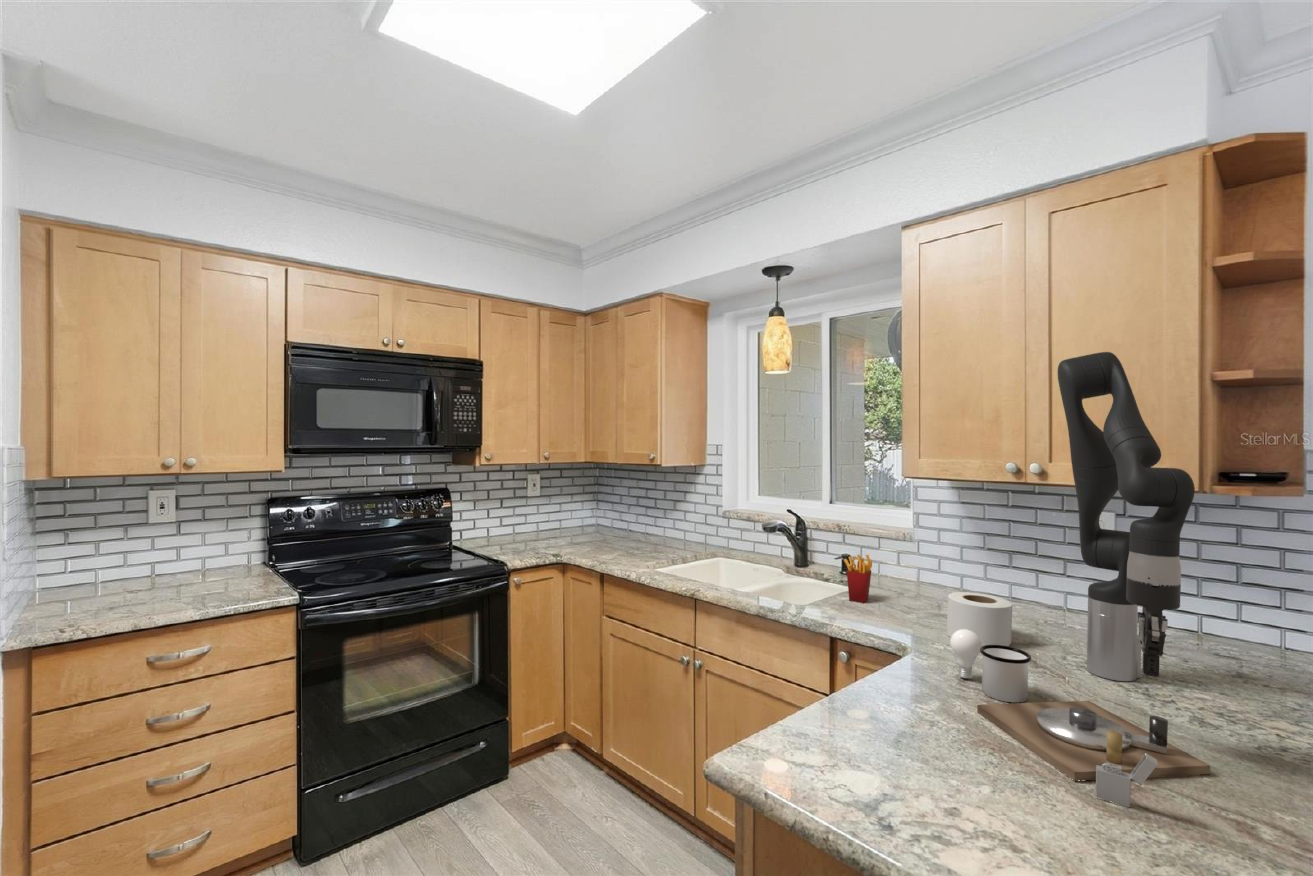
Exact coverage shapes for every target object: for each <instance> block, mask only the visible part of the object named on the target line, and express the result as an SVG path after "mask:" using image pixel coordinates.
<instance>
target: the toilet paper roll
mask: <svg viewBox="0 0 1313 876" xmlns="http://www.w3.org/2000/svg"><path fill="white" fill-rule="evenodd" d="M946 619H947V620H946V621H947V622H946V634H947V636H948V637H949V638H951V636H952V634H953V633H954V632H955V631H957V630H960V629H968V630H971V631H973V632H974V633H976V634H977V635H978V637H979V638H980V640H981V643H982V646H984V645H1003V646H1009V645H1010V644H1011V645H1012V628H1013V627H1012V626H1013V603H1012V602H1011V601H1010V600H1008V599H1006V598H1004V597H1003V598H1002V597H999V596H996V595H991V594H986V593H985V594H984V593H978V592H972V591H971V592H970V591H969V592H967V591H956V592H955V591H954V592H951V593H949V594H947V617H946ZM1011 645H1010V646H1011ZM1010 646H1009V647H1010Z"/></svg>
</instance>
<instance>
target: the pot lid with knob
mask: <svg viewBox="0 0 1313 876" xmlns="http://www.w3.org/2000/svg"><path fill="white" fill-rule="evenodd" d="M1148 722H1149V725H1148V732H1149V737H1146V736H1141V735H1137V734H1133V733H1130V732H1129V731H1128V730H1127V729H1125V728H1124V727H1122V726H1121V725H1119V724H1117V723H1115V722H1113V721H1111V720H1109V719H1106V718H1104V717H1101V716H1098V715H1097V714H1096V713H1094V712H1093V711H1091V710H1088V709H1085V708H1080V707H1071V708H1070V709H1066V708H1047V709H1043V710H1040V711H1039V712H1038V713H1037V724H1038V725H1039V727H1040V728H1041V729H1043V730H1044V731H1045V732H1047V733H1048V734H1050V735H1052V736H1054V737H1056V738H1058V739H1060V740H1063V741H1065V742H1068V743H1071V744H1074V745H1077V746H1081V747H1085V748H1089V749H1094V750H1101V751H1107V731H1115V732H1118V733H1120V734H1122V751H1123V750H1127V749H1129V748H1130V747H1131V746H1135V747H1139V748H1143V749H1148V750H1152V751H1156V752H1160V753H1165V754H1167V743H1168V737H1169V735H1168V734H1169V733H1168V729H1169V721H1168V719H1166V718H1164V717H1161V716H1156V715H1149V721H1148Z"/></svg>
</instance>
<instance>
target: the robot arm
mask: <svg viewBox="0 0 1313 876" xmlns="http://www.w3.org/2000/svg"><path fill="white" fill-rule="evenodd" d="M1057 381H1058V386H1059V391H1060V396H1061V401H1062V407H1063V410H1064V415H1065V419H1066V425H1067V432H1068V439H1069V440H1068V442H1069V451H1070V461H1071V469H1072V476H1073V481H1074V486H1075V492H1076V499H1077V505H1078V506H1077V508H1078V521H1079V525H1078V526H1079V544H1080V545H1079V546H1080V552H1081V553H1080V554H1081V557H1082V560H1083V562H1084V563H1085V565H1087V566H1088V567H1091V568H1095V569H1103V570H1108V571H1114V572H1115V571H1116V572H1118V575H1117V577H1116V578H1114V579H1112V580H1107V581H1098V582H1093V583H1091V584H1089V586H1088V589H1087V623H1086V625H1087V627H1086V628H1087V631H1086V633H1087V634H1086V635H1087V636H1086V639H1087V641H1086V670H1087V671H1088V672H1089V673H1091V674H1092V675H1094V676H1097V677H1099V678H1103V679H1108V680H1112V681H1119V682H1132V681H1136V680H1137V679H1141V667H1142V673H1143V675H1145V676H1147V677H1153V678H1158V677H1159V676H1160V660H1161V657H1162V656H1163V655H1164V647H1165V644H1166V637H1167V634H1166V630H1167V629H1168V628H1169V626H1168V624H1169V623H1168V622H1169V620H1168V618H1166V615H1163V611H1164V610H1169V611H1175V610H1178V609H1180V607H1181V594H1182V593H1181V585H1182V584H1181V583H1182V582H1181V581H1182V568H1181V567H1182V565H1181V559H1180V550H1181V549H1180V547H1181V546H1180V545H1181V533H1182V529H1183V527H1184V524H1185V521H1186V518H1187V515H1188V513H1189V511H1190V508H1191V506H1192V504H1193V500H1194V498H1195V492H1196V491H1195V489H1196V488H1195V482H1194V480H1193V479H1192V477H1191V475H1190V474H1189V473H1188V472H1187V471H1185V470H1183V469H1182V468H1177V467H1175V468H1174V467H1154V466H1155V465H1157V464H1158V463H1160V461H1161V458H1162V452H1161V451H1162V450H1161V448H1160V447H1159V444H1158V443H1157V441H1156V439H1155V438H1154V435H1152V433H1151V432H1150V430H1149V428H1148V427H1147V425H1146V423H1145V421H1144V419H1143V416H1142V415H1141V413H1140V412H1141V411H1140V410H1139V407H1138V405H1137V401H1136V398H1135V394H1134V393H1133V389H1132V387H1131V385H1130V382H1129V379H1128V376H1127V374H1126V372H1125V369H1124V366H1123V365H1122V363H1121V361H1120V359H1119V358H1118V357H1117V355H1116V354H1114V353H1113V352H1111V351H1103V352H1102V351H1101V352H1096V353H1091V354H1090V353H1089V354H1086V355H1080V356H1076V357H1071V358H1066V359H1063V360H1062V361H1060V362H1059V363H1058V366H1057ZM1107 395H1111V396H1112V404H1111V407H1110V409H1109V412H1108V414H1107V416H1106V419H1105V421H1104V424H1103V429H1101V428H1099V426H1097V425H1096V423H1094V421H1093V420H1092V419H1091V418H1090V416H1089V415H1088V414H1087V412H1086V410H1085V408H1084V406H1083V405H1084V404H1083V400H1086V399H1090V398H1096V397H1102V396H1107ZM1117 492H1119V495H1120V496H1121V498H1122V499H1123V500H1124V501H1126V502H1127V503H1128V504H1130V505H1132V506H1137V507H1154V508H1155V507H1158V508H1157V510H1156V512H1155V513H1154V515H1153V516H1150V517H1147V518H1141V519H1136V520H1134V521H1132V522H1131V524H1130V526H1129V531H1124V530H1115V529H1107V528H1101V526H1100V517H1101V515H1102V512H1103V511H1104V509H1105V508H1106V506H1108V504H1109V502H1110V501H1111V500H1112V499H1113V498H1114V496H1115V495H1116V494H1117ZM1139 606H1140V607H1142V611H1141V612H1140V611H1138V610H1139V609H1138V607H1139ZM1141 653H1142V654H1141ZM1141 655H1142V656H1141ZM1141 657H1142V660H1141ZM1141 661H1142V662H1141ZM1141 663H1142V664H1141ZM1141 665H1142V666H1141Z"/></svg>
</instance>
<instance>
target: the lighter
mask: <svg viewBox="0 0 1313 876" xmlns="http://www.w3.org/2000/svg"><path fill="white" fill-rule="evenodd" d="M1157 764H1158V763H1157V760H1156V759H1155V758H1153V757H1152V756H1150V755H1148V754H1147V753H1146V754H1145V755H1144V756H1143V758H1142V759H1141V760H1140V762H1139V763H1138V764H1137V766H1136V767H1135V768H1134V770H1133V771H1132V772H1131V774H1129V773H1125V772H1122V768H1121V766H1119V765H1115V764H1112V763H1108V762H1107V763H1104V764H1102V766H1099V765H1096V781H1095V798H1096V797H1099V798H1102V799H1104V800H1107V801H1112V802H1114V803H1117V804H1116V805H1118V804H1119V805H1118V806H1121V805H1122V806H1121V807H1124V806H1127V807H1126V808H1128V807H1130V808H1131V796H1132V795H1131V791H1132V781H1134V782H1135V783H1137V784H1138V785H1140V786H1142V785H1143V784H1144V783H1145V781H1147V779H1149V778H1148V776H1149V775H1150V774H1151V773H1152V771H1153V770H1154V769H1155V767H1156V766H1157ZM1104 800H1103V801H1104ZM1107 801H1106V802H1107ZM1114 803H1113V804H1114Z"/></svg>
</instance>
